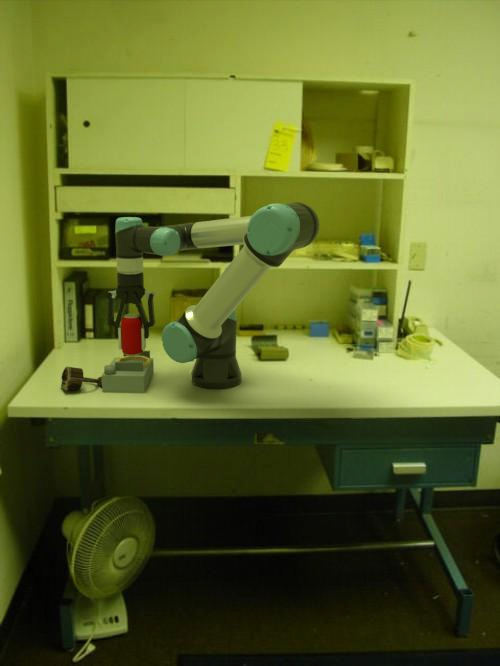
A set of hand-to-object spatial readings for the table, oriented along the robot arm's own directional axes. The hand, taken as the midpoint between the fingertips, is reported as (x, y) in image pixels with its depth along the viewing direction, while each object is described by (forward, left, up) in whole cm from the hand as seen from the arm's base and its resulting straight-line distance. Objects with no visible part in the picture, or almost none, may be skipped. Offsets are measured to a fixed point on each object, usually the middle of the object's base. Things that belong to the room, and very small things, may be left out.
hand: (132, 348), depth 184 cm
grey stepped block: (+1, +2, -10) cm, 10 cm away
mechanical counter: (+13, +8, -10) cm, 19 cm away
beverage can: (0, 0, -2) cm, 2 cm away
